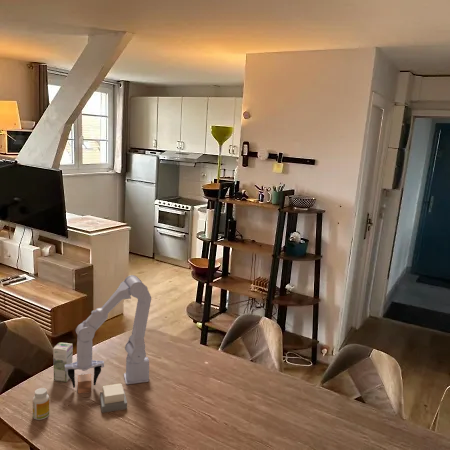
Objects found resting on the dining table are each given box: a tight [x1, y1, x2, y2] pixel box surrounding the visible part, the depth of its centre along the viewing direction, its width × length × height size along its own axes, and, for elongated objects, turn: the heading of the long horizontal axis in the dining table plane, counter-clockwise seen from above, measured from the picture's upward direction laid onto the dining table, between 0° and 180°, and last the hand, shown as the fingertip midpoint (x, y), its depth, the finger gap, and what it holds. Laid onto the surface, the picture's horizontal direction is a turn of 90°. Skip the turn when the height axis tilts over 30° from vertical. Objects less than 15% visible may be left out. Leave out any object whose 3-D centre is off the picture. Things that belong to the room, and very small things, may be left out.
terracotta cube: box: [77, 373, 92, 394], centre depth 166 cm, size 5×5×5 cm
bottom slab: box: [99, 388, 128, 414], centre depth 159 cm, size 9×9×3 cm
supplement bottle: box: [32, 387, 50, 421], centre depth 148 cm, size 5×5×10 cm
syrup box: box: [52, 342, 74, 383], centre depth 171 cm, size 6×6×14 cm
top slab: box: [102, 383, 125, 404], centre depth 158 cm, size 7×7×3 cm
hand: (84, 385), depth 166 cm, fingers open, 7 cm apart
